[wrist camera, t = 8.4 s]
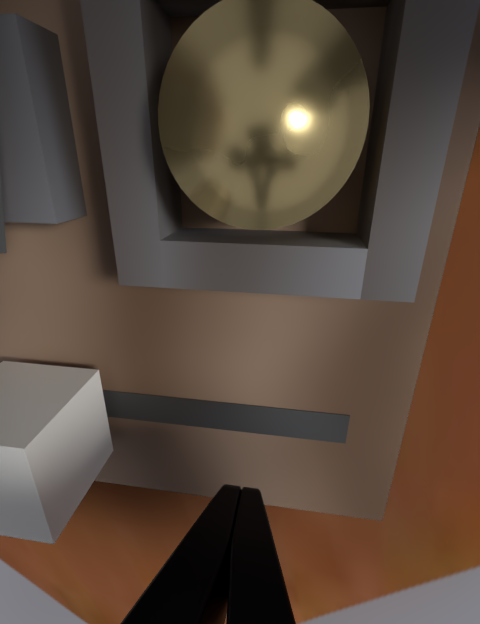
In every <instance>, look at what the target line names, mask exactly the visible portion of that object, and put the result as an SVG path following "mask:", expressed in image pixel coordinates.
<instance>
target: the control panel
mask: <svg viewBox="0 0 480 624" xmlns="http://www.w3.org/2000/svg"><path fill="white" fill-rule="evenodd" d="M220 1H222V0H0V172H1V185H2V198H3V211H4V224H5V237H6V250H7V253H0V363H1V362H3V361H11V362H21V363H32V364H43V365H53V366H64V367H74V368H85V369H96V370H99V374H100V379H101V385H102V390H103V396H104V401H105V407H106V412H107V418H108V423H109V429H110V435H111V440H112V446H113V452H112V453H111V455H110V457H109V458H108V460H107V461H106V463H105V464H104V466H103V468H102V469H101V471H100V472H99V474H98V475H97V477H96V479H95V480H94V481H100V482H107V483H114V484H121V485H128V486H135V487H142V488H150V489H157V490H164V491H171V492H178V493H185V494H192V495H199V496H207V497H214V496H215V495H216V493H217V492H218V491H219V489H220V488H221V487H222V486H223V485H224V484H229V485H236V486H240V487H241V490H242V488H243V487H251V488H258V489H259V490H260V491H261V494H262V498H263V502H264V505H271V506H278V507H285V508H292V509H299V510H307V511H314V512H321V513H328V514H335V515H342V516H349V517H357V518H364V519H371V520H378V521H382V520H383V516H384V512H385V508H386V504H387V500H388V496H389V491H390V487H391V483H392V479H393V475H394V471H395V467H396V463H397V459H398V455H399V451H400V447H401V443H402V439H403V435H404V430H405V426H406V422H407V418H408V414H409V410H410V406H411V402H412V398H413V394H414V390H415V386H416V382H417V378H418V374H419V369H420V365H421V361H422V357H423V353H424V349H425V345H426V341H427V337H428V333H429V329H430V325H431V321H432V317H433V313H434V308H435V304H436V300H437V296H438V292H439V288H440V284H441V280H442V276H443V272H444V268H445V264H446V260H447V256H448V252H449V247H450V243H451V239H452V235H453V231H454V227H455V223H456V219H457V215H458V211H459V207H460V203H461V199H462V195H463V191H464V186H465V182H466V178H467V174H468V170H469V166H470V162H471V158H472V154H473V150H474V146H475V142H476V138H477V134H478V130H479V125H480V0H313V1H314V2H316V3H318V4H319V5H321V6H323V7H324V8H325V9H326V10H327V11H329V12H330V13H331V14H332V15H333V16H335V18H336V19H337V20H338V21H339V22H340V23H341V24H342V26H343V27H344V28H345V29H346V31H347V32H348V34H349V35H350V37H351V38H352V40H353V41H354V43H355V45H356V48H357V50H358V52H359V54H360V56H361V59H362V62H363V65H364V68H365V72H366V76H367V82H368V88H369V102H370V110H369V123H368V128H367V134H366V139H365V142H364V145H363V148H362V151H361V154H360V157H359V159H358V161H357V163H356V166H355V168H354V170H353V171H352V173H351V175H350V176H349V178H348V180H347V181H346V183H345V184H344V185H343V186H342V188H341V189H340V190H339V192H338V193H337V194H336V195H335V196H334V197H333V198H332V199H331V200H330V201H329V202H328V203H327V204H326V205H324V206H323V207H322V208H321V209H319V210H318V211H317V212H315V213H314V214H312V215H311V216H309V217H307V218H306V219H304V220H301V221H299V222H297V223H295V224H292V225H289V226H285V227H282V228H277V229H271V230H250V229H242V228H238V227H234V226H231V225H228V224H226V223H223V222H221V221H219V220H217V219H215V218H213V217H211V216H210V215H208V214H207V213H205V212H204V211H203V210H201V209H200V208H199V207H198V206H197V205H196V204H194V203H193V202H192V201H191V200H190V199H189V197H188V196H187V195H186V194H185V193H184V192H183V190H182V189H181V187H180V186H179V184H178V183H177V181H176V180H175V178H174V176H173V174H172V172H171V170H170V168H169V166H168V164H167V161H166V158H165V156H164V153H163V149H162V145H161V141H160V134H159V127H158V103H159V93H160V88H161V83H162V78H163V75H164V72H165V69H166V66H167V63H168V61H169V59H170V57H171V55H172V52H173V50H174V48H175V47H176V45H177V44H178V42H179V40H180V39H181V37H182V36H183V34H184V33H185V32H186V31H187V29H188V28H189V27H190V26H191V24H192V23H193V22H194V21H195V20H196V19H197V18H199V17H200V16H201V15H202V14H203V13H204V12H205V11H207V10H208V9H209V8H211V7H212V6H214V5H215V4H217V3H218V2H220Z"/></svg>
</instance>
